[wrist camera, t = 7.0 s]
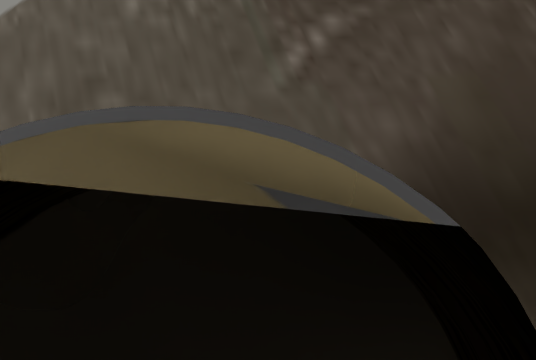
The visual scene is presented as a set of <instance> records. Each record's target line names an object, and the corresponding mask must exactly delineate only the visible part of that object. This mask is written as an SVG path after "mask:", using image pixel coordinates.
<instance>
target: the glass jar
mask: <svg viewBox="0 0 536 360" xmlns="http://www.w3.org/2000/svg"><path fill="white" fill-rule="evenodd" d="M0 360H536V330H535V328H534V327H533V325H532V323H531V321H530V319H529V318H528V316H527V314H526V312H525V310H524V308H523V307H522V305H521V303H520V301H519V299H518V298H517V296H516V294H515V293H514V292H513V290H512V289H511V288H510V286H509V285H508V283H507V282H506V281H505V279H504V278H503V277H502V275H501V274H500V273H499V271H498V270H497V268H496V267H495V266H494V264H493V263H492V262H491V260H490V259H489V258H488V256H487V255H486V253H485V252H484V251H483V249H482V248H481V247H480V246H479V245H478V244H477V243H476V242H475V241H474V240H473V239H472V238H471V237H470V236H469V235H468V233H467V232H466V231H465V230H464V229H463V228H462V227H461V226H460V225H459V224H457V223H456V222H455V221H454V220H453V219H452V218H451V217H450V216H448V215H447V214H446V213H445V212H444V211H443V210H442V209H441V208H439V207H438V206H437V205H435V204H434V203H432V202H431V201H430V200H428V199H427V198H425V197H424V196H422V195H421V194H420V193H418V192H417V191H415V190H414V189H412V188H411V187H410V186H408V185H407V184H405V183H404V182H402V181H401V180H400V179H398V178H397V177H395V176H394V175H393V174H391V173H389V172H387V171H385V170H384V169H382V168H380V167H378V166H376V165H374V164H372V163H371V162H369V161H367V160H365V159H363V158H361V157H360V156H358V155H356V154H354V153H352V152H350V151H348V150H347V149H345V148H343V147H341V146H338V145H336V144H333V143H330V142H328V141H325V140H323V139H320V138H318V137H315V136H313V135H310V134H308V133H305V132H302V131H300V130H297V129H295V128H292V127H289V126H285V125H281V124H277V123H273V122H270V121H266V120H262V119H258V118H254V117H250V116H246V115H243V114H238V113H230V112H223V111H215V110H208V109H200V108H193V107H169V106H129V107H119V108H109V109H100V110H90V111H80V112H75V113H70V114H66V115H61V116H57V117H52V118H48V119H43V120H38V121H34V122H29V123H25V124H21V125H18V126H15V127H12V128H9V129H6V130H3V131H0Z"/></svg>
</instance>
